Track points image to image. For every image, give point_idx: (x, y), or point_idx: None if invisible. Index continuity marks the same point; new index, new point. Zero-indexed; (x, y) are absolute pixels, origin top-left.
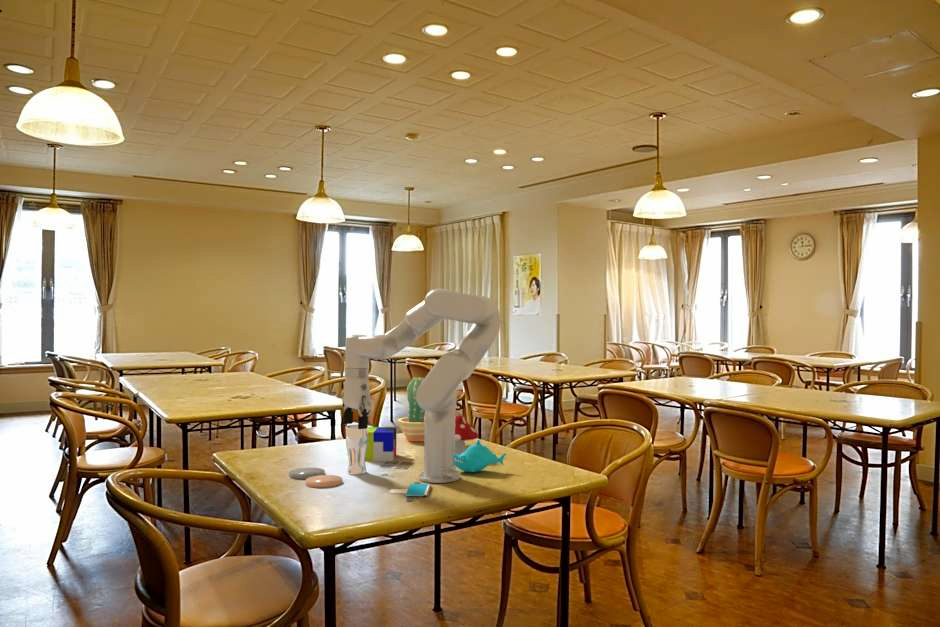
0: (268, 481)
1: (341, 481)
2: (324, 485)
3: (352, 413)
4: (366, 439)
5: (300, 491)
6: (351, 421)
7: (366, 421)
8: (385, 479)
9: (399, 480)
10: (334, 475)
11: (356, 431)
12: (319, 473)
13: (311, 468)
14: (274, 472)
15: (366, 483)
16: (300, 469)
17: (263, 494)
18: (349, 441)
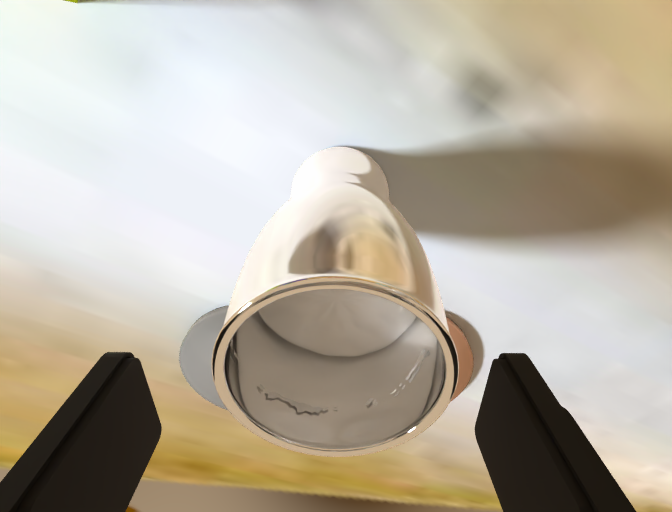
0: (267, 454)
1: (457, 328)
2: (460, 388)
3: (51, 493)
4: (424, 252)
5: (438, 436)
6: (129, 386)
7: (599, 460)
8: (558, 147)
9: (641, 95)
10: None
11: (424, 396)
12: None
13: (204, 338)
14: (158, 413)
15: (536, 253)
16: (200, 371)
17: (392, 494)
18: (363, 357)
